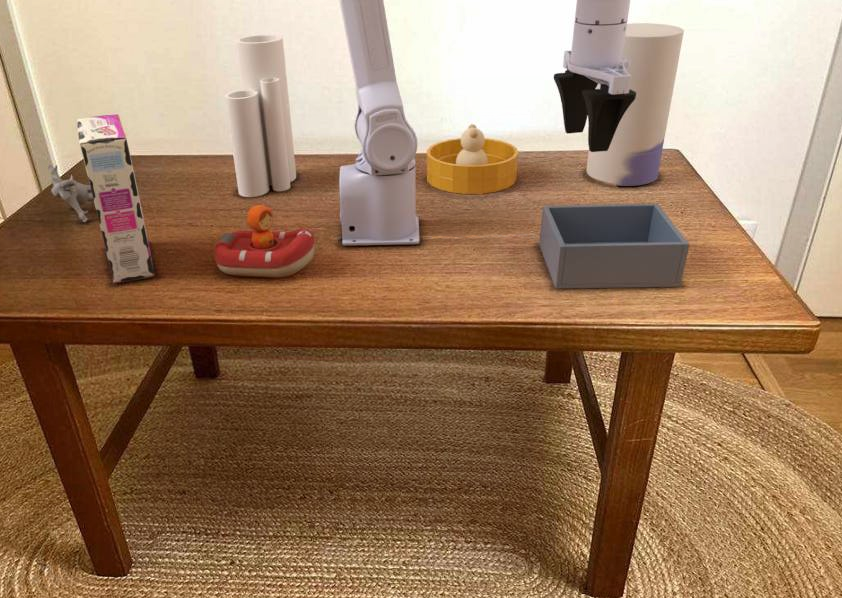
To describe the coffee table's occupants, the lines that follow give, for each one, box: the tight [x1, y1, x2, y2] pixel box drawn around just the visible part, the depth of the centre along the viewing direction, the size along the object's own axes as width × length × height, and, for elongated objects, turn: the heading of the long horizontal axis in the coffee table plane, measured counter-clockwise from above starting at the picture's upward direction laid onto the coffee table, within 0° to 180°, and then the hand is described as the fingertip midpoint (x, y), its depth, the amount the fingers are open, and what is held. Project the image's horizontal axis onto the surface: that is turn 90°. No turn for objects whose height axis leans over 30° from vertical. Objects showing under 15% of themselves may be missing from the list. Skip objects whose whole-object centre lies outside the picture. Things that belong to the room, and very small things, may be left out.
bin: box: [538, 203, 691, 290], centre depth 81 cm, size 13×11×5 cm
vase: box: [224, 34, 297, 198], centre depth 104 cm, size 11×7×20 cm, turn 166°
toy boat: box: [214, 204, 315, 279], centre depth 83 cm, size 8×12×8 cm, turn 81°
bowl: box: [426, 137, 520, 195], centre depth 105 cm, size 13×13×4 cm
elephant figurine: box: [47, 163, 94, 223], centre depth 102 cm, size 10×6×9 cm
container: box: [585, 22, 685, 187], centre depth 101 cm, size 10×10×20 cm
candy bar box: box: [76, 114, 156, 284], centre depth 84 cm, size 11×5×16 cm, turn 21°
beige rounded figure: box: [456, 123, 488, 165], centre depth 104 cm, size 5×5×8 cm
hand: (585, 141), depth 89 cm, fingers open, 7 cm apart
